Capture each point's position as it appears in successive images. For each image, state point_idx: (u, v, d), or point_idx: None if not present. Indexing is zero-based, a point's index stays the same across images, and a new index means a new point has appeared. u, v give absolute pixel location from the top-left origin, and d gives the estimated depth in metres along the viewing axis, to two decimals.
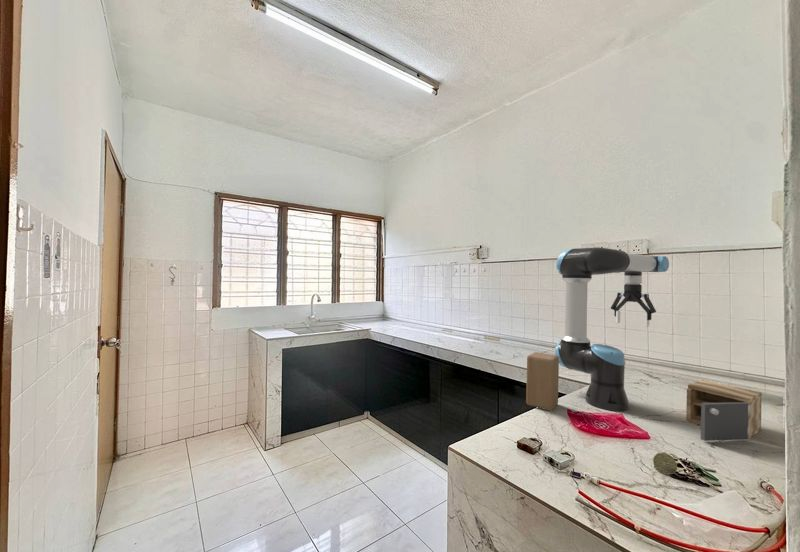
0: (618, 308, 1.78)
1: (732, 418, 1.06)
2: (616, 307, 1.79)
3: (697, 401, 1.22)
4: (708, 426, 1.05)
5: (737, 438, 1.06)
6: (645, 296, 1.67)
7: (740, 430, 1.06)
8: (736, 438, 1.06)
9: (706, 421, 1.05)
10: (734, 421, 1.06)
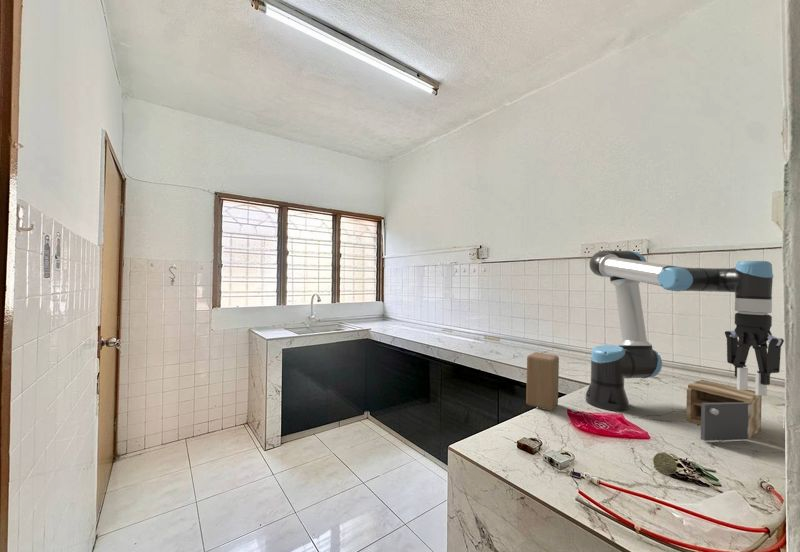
0: (740, 361, 1.00)
1: (732, 418, 1.06)
2: (735, 360, 1.01)
3: (697, 401, 1.22)
4: (708, 426, 1.05)
5: (737, 438, 1.06)
6: (772, 342, 0.92)
7: (740, 430, 1.06)
8: (736, 438, 1.06)
9: (706, 421, 1.05)
10: (734, 421, 1.06)
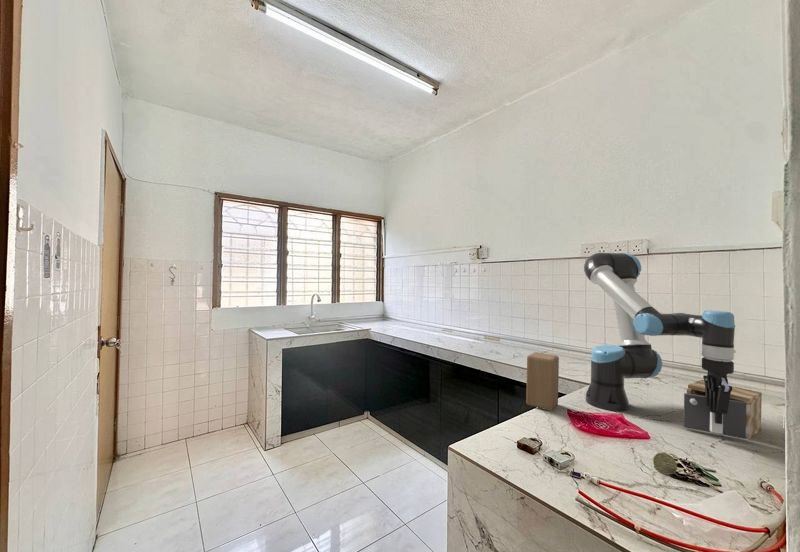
0: (712, 404, 1.08)
1: None
2: (709, 403, 1.09)
3: None
4: (689, 415, 1.14)
5: (730, 434, 1.08)
6: (720, 388, 1.03)
7: (734, 427, 1.08)
8: (728, 434, 1.09)
9: (687, 410, 1.14)
10: (726, 417, 1.09)
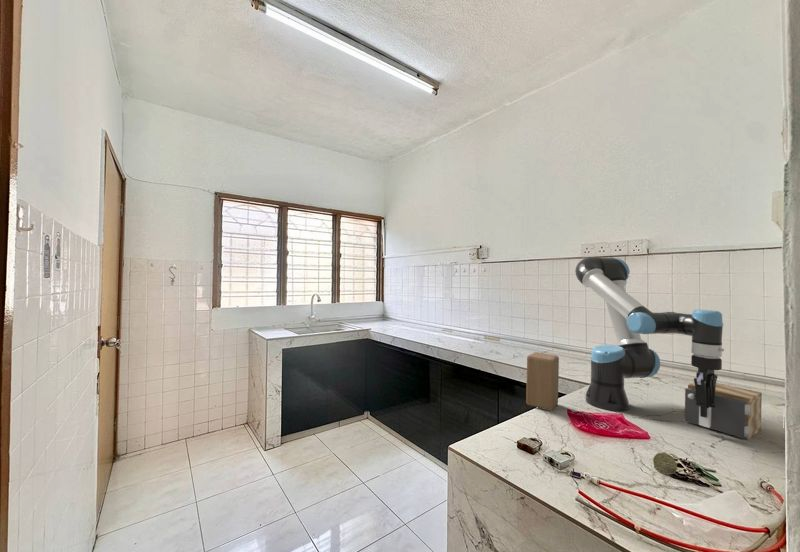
0: None
1: (721, 411, 1.12)
2: None
3: None
4: (689, 409, 1.19)
5: (728, 432, 1.10)
6: None
7: (733, 425, 1.09)
8: (727, 432, 1.10)
9: (687, 404, 1.19)
10: (724, 414, 1.11)
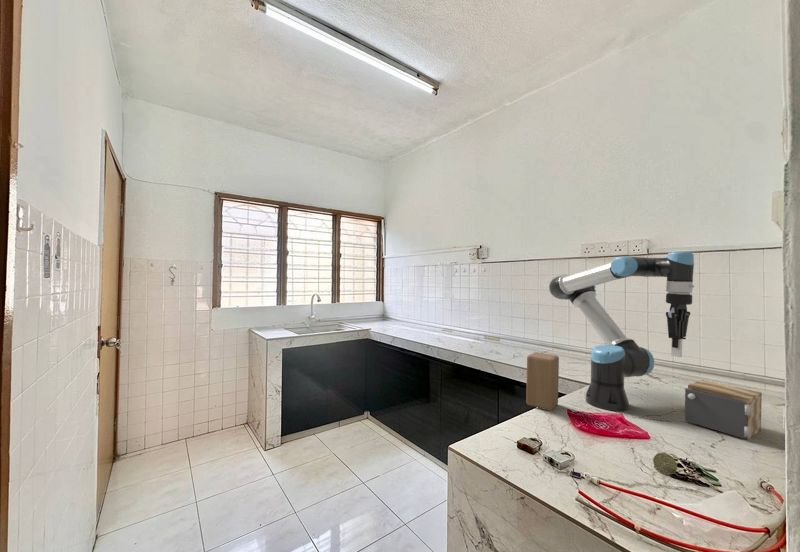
0: None
1: (721, 411, 1.12)
2: None
3: None
4: (689, 409, 1.19)
5: (728, 432, 1.10)
6: None
7: (733, 425, 1.09)
8: (727, 432, 1.10)
9: (687, 404, 1.19)
10: (724, 414, 1.11)
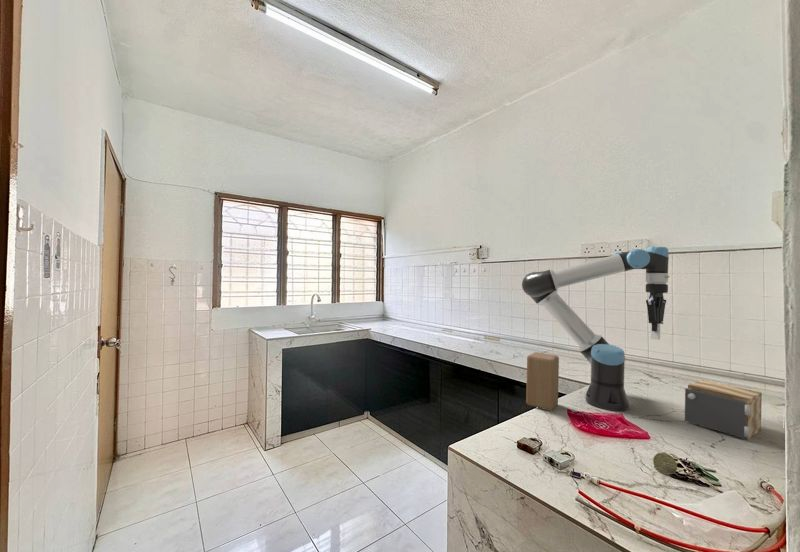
0: None
1: (721, 411, 1.12)
2: None
3: None
4: (689, 409, 1.19)
5: (728, 432, 1.10)
6: None
7: (733, 425, 1.09)
8: (727, 432, 1.10)
9: (687, 404, 1.19)
10: (724, 414, 1.11)
